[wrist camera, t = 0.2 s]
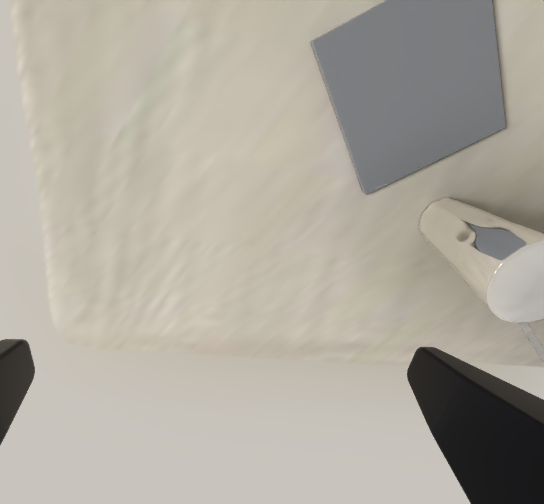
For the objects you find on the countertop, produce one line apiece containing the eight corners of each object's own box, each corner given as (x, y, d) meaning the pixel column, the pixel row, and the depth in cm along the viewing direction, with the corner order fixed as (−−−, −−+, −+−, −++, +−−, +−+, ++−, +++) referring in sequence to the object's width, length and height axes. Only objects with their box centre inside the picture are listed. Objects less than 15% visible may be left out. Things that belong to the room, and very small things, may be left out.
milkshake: (402, 261, 24) (501, 366, 16) (414, 190, 22) (540, 267, 13) (461, 256, 25) (590, 355, 16) (480, 185, 22) (644, 257, 14)
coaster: (310, 42, 17) (312, 41, 17) (477, -50, 16) (486, -54, 16) (362, 192, 22) (366, 195, 21) (498, 125, 21) (505, 127, 20)
